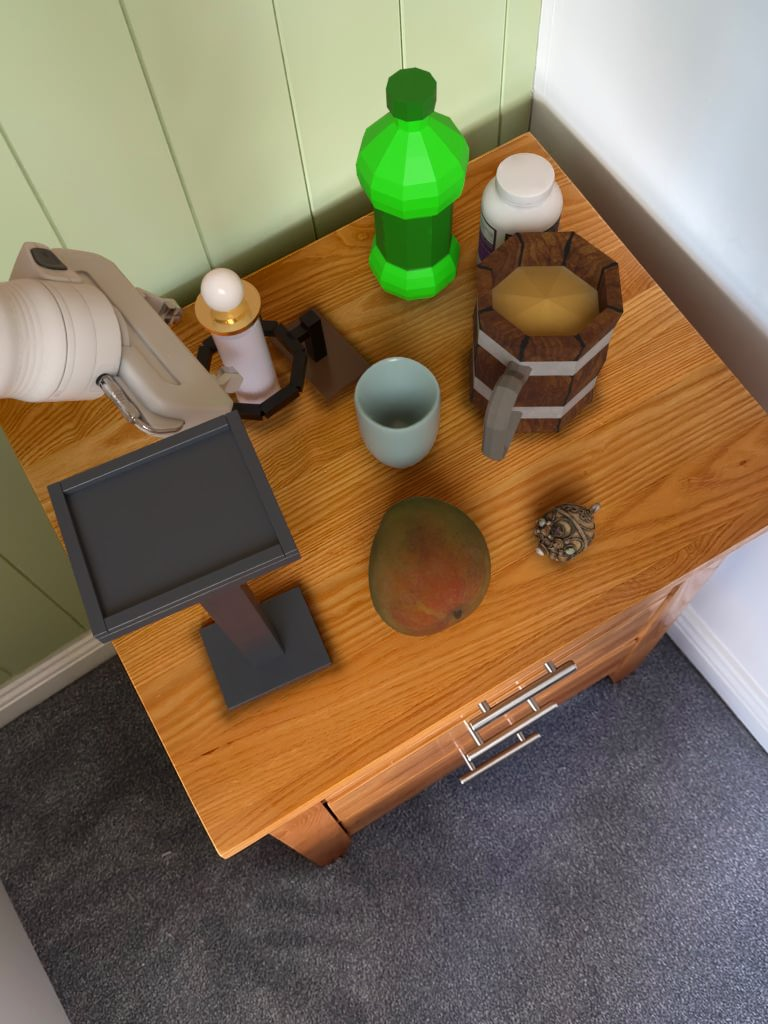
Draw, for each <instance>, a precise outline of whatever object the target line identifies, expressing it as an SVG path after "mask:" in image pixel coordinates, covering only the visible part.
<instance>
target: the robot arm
mask: <svg viewBox="0 0 768 1024" xmlns="http://www.w3.org/2000/svg"><path fill="white" fill-rule="evenodd" d="M183 313H184V309H183V308H182V307H181V306H180V304H179V303H178V302H177V301H176V300H175V298H167V297H161V296H158V295H157V294H155V293H152V292H150V291H148V290H147V289H143V288H141V287H137V286H135V285H134V284H133V283H132V282H131V281H130V279H129V278H127V276H126V275H125V274H124V273H123V272H122V271H121V269H120V268H119V267H118V266H117V265H116V263H115V262H113V261H112V260H110V259H108V258H106V257H104V256H103V255H100V254H99V253H95V252H91V251H85V250H78V249H71V248H63V247H53V248H50V247H49V246H48V245H46V244H44V243H40V242H36V241H24V242H23V243H22V246H21V248H20V250H19V252H18V254H17V257H16V259H15V261H14V263H13V267H12V269H11V271H10V276H9V278H8V281H0V400H2V399H14V400H18V401H21V402H25V403H52V402H53V403H55V402H56V403H57V402H74V401H75V402H77V401H78V402H79V401H93V400H97V399H99V398H101V397H103V396H104V395H105V396H106V397H107V398H108V399H109V400H110V401H111V402H112V403H113V404H114V405H115V406H116V408H117V409H118V410H119V412H120V415H121V416H122V417H123V418H124V419H125V421H127V422H128V423H129V424H130V425H134V426H135V427H136V428H137V429H139V431H141V432H143V433H145V434H147V435H149V436H152V437H156V438H161V439H165V438H167V437H169V436H172V435H174V434H177V433H179V432H182V431H184V430H187V429H189V428H192V427H194V426H197V425H199V424H202V423H204V422H206V421H209V420H211V419H214V418H216V417H219V416H221V415H225V414H226V413H229V412H231V410H232V407H233V402H234V400H233V399H232V398H231V396H230V395H229V394H235V392H236V391H237V390H238V389H239V387H240V385H241V384H242V382H243V377H242V376H241V375H240V374H239V373H238V372H237V371H236V369H235V368H234V367H233V366H230V367H227V366H224V365H222V366H220V367H219V368H218V370H217V372H216V373H217V375H215V374H214V373H210V371H209V372H208V371H207V370H206V369H205V368H204V367H203V365H202V364H201V363H200V362H199V361H198V360H197V358H196V357H197V356H195V355H194V354H193V353H192V351H191V350H190V349H189V348H188V347H187V345H186V344H185V343H184V342H183V341H182V340H181V338H180V337H179V336H178V335H177V334H176V333H175V332H174V331H173V329H172V328H171V327H170V326H169V325H176V324H178V323H179V322H180V321H181V316H182V315H183Z"/></svg>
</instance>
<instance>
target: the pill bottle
mask: <svg viewBox="0 0 768 1024" xmlns="http://www.w3.org/2000/svg"><path fill="white" fill-rule="evenodd" d="M555 175H556V174H555V169H554V167H553V165H552V164H551V162H550V161H549V160H547V158H545V157H543V156H542V155H539V154H536V153H533V152H532V153H531V152H518V153H514V154H512V155H508V156H507V157H505V158H504V159H503V160H502V161H501V162H500V163H499V165H498V167H497V169H496V173H495V176H493V177H492V178H491V179H490V180H489V182H487V184H486V186H485V187H484V189H483V191H482V194H481V199H480V213H479V214H480V215H479V230H478V244H477V255H476V256H477V257H476V266H477V265H478V264H479V263H480V262H481V261H482V260H484V259H485V258H486V257H487V256H488V255H490V254H491V253H492V252H493V251H494V250H496V249H497V248H498V247H499V246H500V245H502V244H503V243H504V242H505V241H506V240H508V239H509V238H510V237H511V236H512V235H514V234H515V233H516V232H559V228H560V222H561V219H562V218H561V217H562V212H563V207H564V197H563V192H562V190H561V188H560V186H559V184H558V183H557V182H556V180H555Z"/></svg>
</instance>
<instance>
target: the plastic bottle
mask: <svg viewBox="0 0 768 1024" xmlns="http://www.w3.org/2000/svg"><path fill="white" fill-rule="evenodd" d="M437 87H438V83H437V80H436V78H434V76H433V75H432V73H431V72H430V71H428V70H425V69H422V68H419V67H417V66H415V67H414V66H413V67H408V68H407V67H406V68H400V69H399V70H397V71H395V73H393V74H391V75H390V76H388V78H387V83H386V86H385V102H386V103H385V104H386V108H387V110H388V112H387V113H385V114H384V115H383V116H381V117H380V118H379V119H377V120H376V121H374V122H373V123H372V124H370V125H369V126H367V127H366V128H365V131H364V133H363V136H362V139H361V142H360V147H359V150H358V154H357V158H356V160H355V161H356V162H355V172H356V177H357V180H358V182H359V184H360V187H361V189H362V191H363V192H364V194H365V195H366V197H367V198H368V200H369V201H370V203H371V204H372V207H373V221H374V235H373V239H372V243H371V246H370V251H369V255H368V259H367V260H368V267H369V269H370V270H371V272H372V274H373V276H374V277H375V279H376V281H377V282H378V284H379V286H380V287H381V288H382V290H383V291H384V292H385V293H387V294H390V295H393V296H395V297H398V298H400V299H402V300H405V301H407V302H409V301H416V300H424V299H432V298H434V297H435V296H437V295H438V294H439V293H441V292H442V291H443V290H444V289H446V287H448V286H449V285H450V284H452V283H453V281H454V280H455V279H456V277H457V271H458V268H459V267H458V266H459V261H460V256H461V245H460V242H459V241H458V239H457V237H456V236H455V235H454V233H453V223H454V222H453V221H454V219H453V218H454V202H455V201H456V200H457V199H459V198H460V197H461V195H462V194H463V190H464V187H465V181H466V178H467V171H468V167H469V163H470V162H469V161H470V147H469V145H468V143H467V140H466V137H464V135H463V133H461V131H460V129H459V128H458V127H457V125H456V124H455V122H454V121H453V120H452V118H451V117H450V116H448V115H445V114H443V113H440V112H438V111H435V109H436V104H437V94H438V93H437V92H438V91H437V89H438V88H437Z"/></svg>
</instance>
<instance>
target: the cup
mask: <svg viewBox="0 0 768 1024" xmlns="http://www.w3.org/2000/svg"><path fill="white" fill-rule="evenodd" d="M353 403H354V410H355V411H354V412H355V416H356V423H357V426H358V432H359V434H360V438H361V439H362V442H363V444H364V446H365V448H366V450H367V451H368V452H369V453H370V455H371V456H372V457H373V458H375V460H377V461H378V462H380V463H381V464H382V465H385V466H387V467H390V468H394V469H405V468H410V467H412V466H415V465H416V464H418V463H420V462H421V461H422V460H423V459H425V458H426V457H427V456H428V455H429V453H430V452H431V451H432V449H433V447H434V445H435V443H436V442H437V441H436V440H437V438H438V435H439V431H440V425H441V414H442V413H441V411H442V392H441V387H440V383H439V382H438V379H437V377H436V376H435V375H434V373H433V372H432V371H431V370H430V369H429V368H428V367H426V366H425V365H424V364H422V363H421V362H419V361H416V360H414V359H412V358H407V357H404V356H393V357H391V356H390V357H387V358H383V359H381V360H379V361H377V362H375V363H373V364H372V365H371V367H370V368H368V369H367V370H366V371H365V372H364V373H363V375H362V376H361V377H360V379H359V381H358V382H357V383H356V384H355V388H354V392H353Z"/></svg>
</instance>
